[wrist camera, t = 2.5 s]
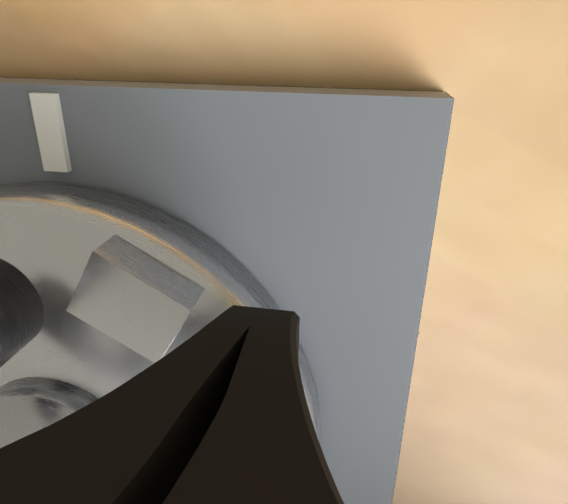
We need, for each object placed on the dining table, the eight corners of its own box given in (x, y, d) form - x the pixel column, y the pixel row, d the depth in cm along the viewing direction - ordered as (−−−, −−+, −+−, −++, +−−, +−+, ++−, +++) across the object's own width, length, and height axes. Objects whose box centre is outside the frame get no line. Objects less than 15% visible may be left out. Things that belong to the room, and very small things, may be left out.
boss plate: (445, 91, 12) (455, 99, 10) (372, 589, 20) (372, 634, 19) (-217, 70, 15) (-285, 74, 13) (-46, 511, 23) (-76, 544, 22)
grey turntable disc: (311, 582, 18) (278, 861, 12) (-41, 515, 20) (-221, 722, 14) (334, 201, 12) (291, 374, 6) (-176, 166, 14) (-596, 265, 8)
